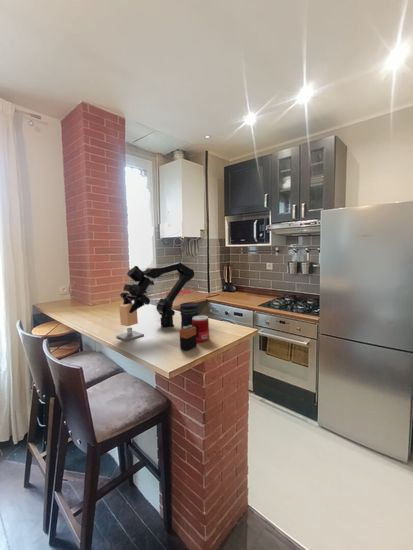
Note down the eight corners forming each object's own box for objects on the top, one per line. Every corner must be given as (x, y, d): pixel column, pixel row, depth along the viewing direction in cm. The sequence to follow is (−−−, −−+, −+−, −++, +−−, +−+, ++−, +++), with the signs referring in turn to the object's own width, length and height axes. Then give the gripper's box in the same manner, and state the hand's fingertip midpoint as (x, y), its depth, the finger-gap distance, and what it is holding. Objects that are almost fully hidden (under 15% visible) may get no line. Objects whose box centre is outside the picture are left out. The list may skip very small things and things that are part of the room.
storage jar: (203, 329, 140) (201, 302, 139) (194, 335, 131) (193, 306, 130) (187, 328, 144) (185, 301, 143) (177, 333, 135) (176, 305, 134)
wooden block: (130, 321, 137) (129, 303, 136) (137, 323, 133) (136, 304, 132) (120, 324, 132) (119, 305, 131) (128, 326, 129) (126, 306, 128)
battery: (179, 349, 114) (178, 327, 113) (189, 344, 119) (188, 323, 118) (187, 351, 111) (186, 328, 110) (197, 346, 117) (196, 324, 116)
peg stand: (133, 332, 141) (133, 324, 141) (143, 336, 134) (143, 327, 134) (116, 337, 134) (115, 329, 133) (126, 341, 127) (125, 332, 126)
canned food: (211, 337, 127) (210, 315, 126) (206, 343, 120) (205, 320, 119) (196, 336, 130) (195, 314, 129) (190, 341, 123) (189, 319, 121)
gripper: (121, 277, 139) (104, 301, 132) (143, 278, 128) (126, 305, 120) (134, 289, 146) (119, 313, 139) (157, 291, 135) (141, 317, 127)
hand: (126, 312), depth 131 cm, fingers closed on wooden block, 6 cm apart
